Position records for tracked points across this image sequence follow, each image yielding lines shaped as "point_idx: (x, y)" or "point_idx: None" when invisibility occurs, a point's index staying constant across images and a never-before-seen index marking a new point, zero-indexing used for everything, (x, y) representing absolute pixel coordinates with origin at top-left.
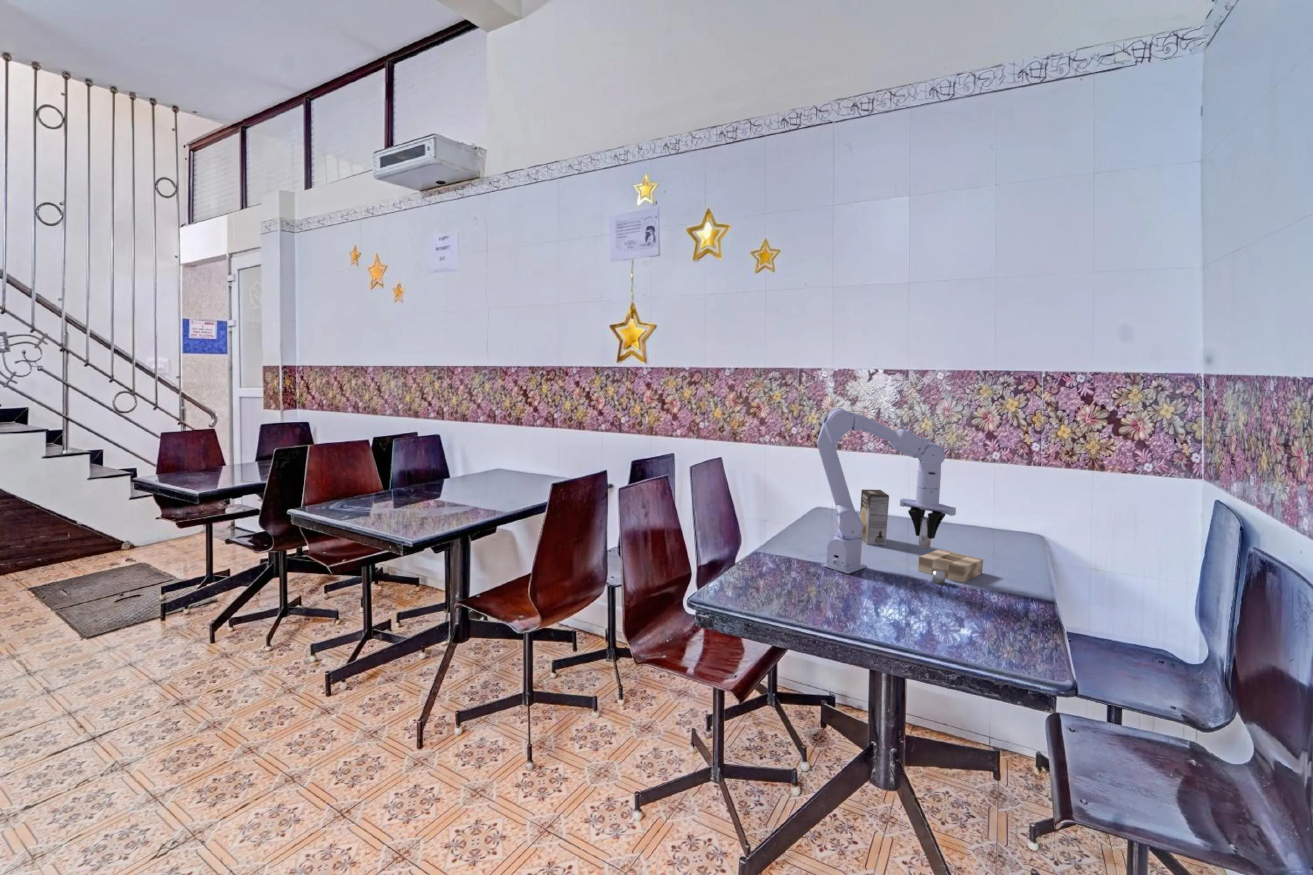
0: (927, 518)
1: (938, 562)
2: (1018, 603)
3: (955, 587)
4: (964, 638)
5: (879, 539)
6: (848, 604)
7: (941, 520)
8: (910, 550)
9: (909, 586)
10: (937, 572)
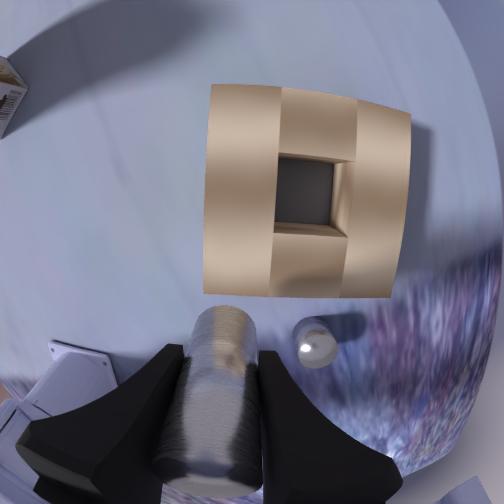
0: (229, 488)
1: (294, 295)
2: (470, 310)
3: (359, 330)
4: None
5: (6, 105)
6: None
7: (344, 437)
8: (92, 60)
9: None
10: (317, 363)
